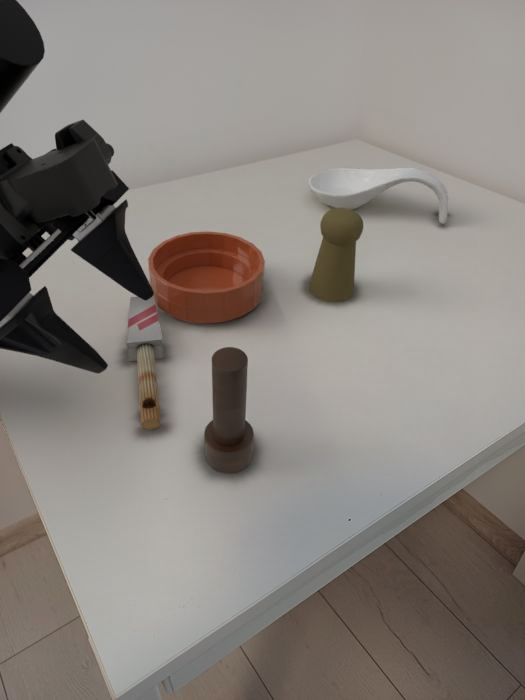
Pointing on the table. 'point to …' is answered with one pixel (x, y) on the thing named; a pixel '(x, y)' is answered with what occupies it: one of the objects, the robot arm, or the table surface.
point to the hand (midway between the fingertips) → (128, 330)
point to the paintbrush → (145, 356)
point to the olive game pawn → (336, 255)
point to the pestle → (229, 414)
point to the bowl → (206, 276)
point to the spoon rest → (370, 186)
